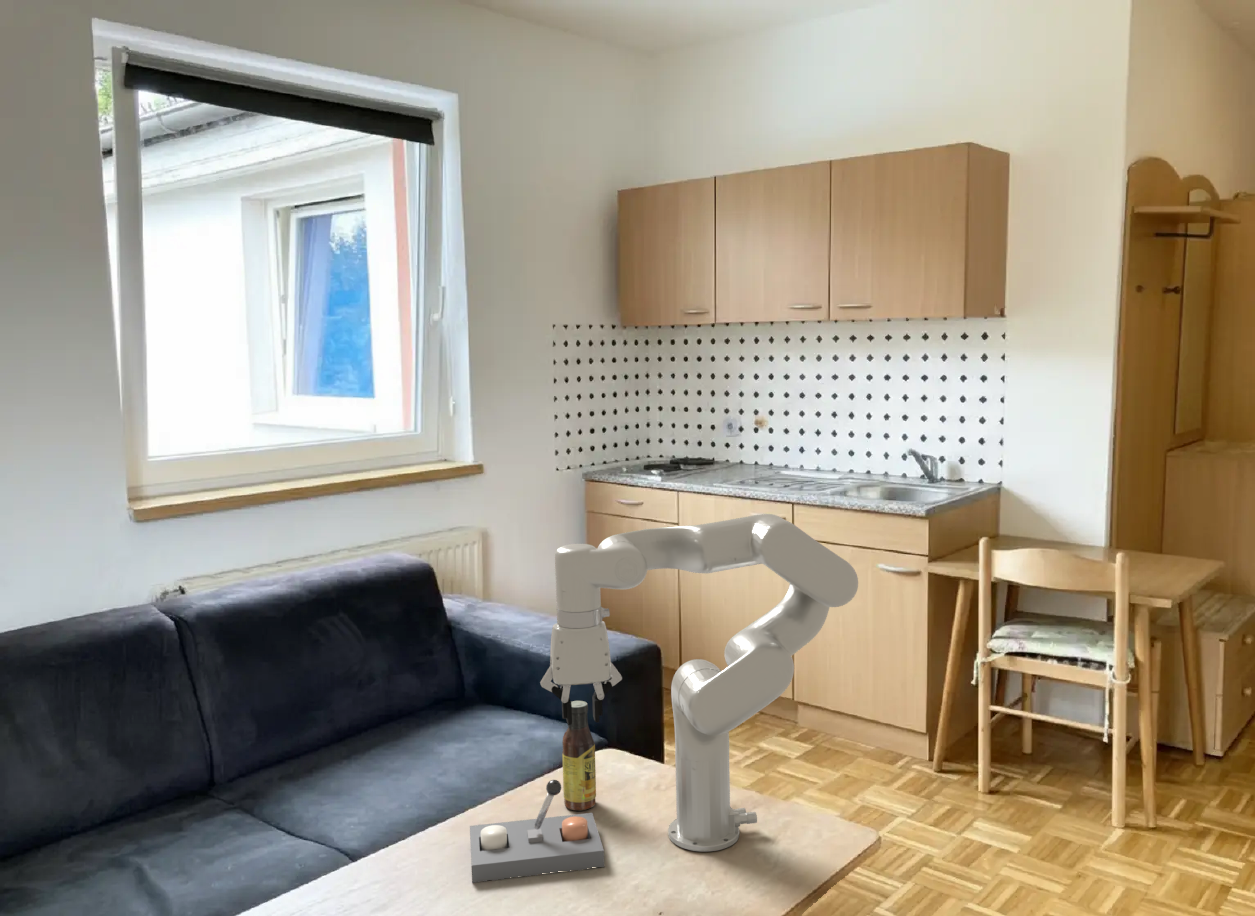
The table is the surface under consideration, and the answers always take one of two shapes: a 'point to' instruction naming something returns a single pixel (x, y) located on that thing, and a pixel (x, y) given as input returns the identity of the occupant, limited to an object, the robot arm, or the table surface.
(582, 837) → the terracotta button
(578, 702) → the sauce bottle
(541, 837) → the control panel
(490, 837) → the offwhite button
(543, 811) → the toggle lever
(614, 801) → the table surface
